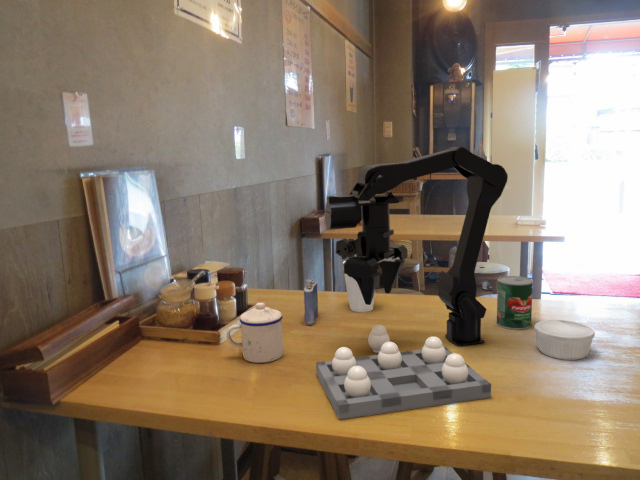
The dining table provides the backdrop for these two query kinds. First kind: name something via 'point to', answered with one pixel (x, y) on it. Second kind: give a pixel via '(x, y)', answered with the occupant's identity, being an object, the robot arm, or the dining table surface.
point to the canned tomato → (514, 302)
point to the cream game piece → (378, 338)
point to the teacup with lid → (260, 334)
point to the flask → (310, 302)
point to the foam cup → (356, 296)
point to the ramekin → (563, 339)
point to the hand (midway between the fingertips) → (378, 298)
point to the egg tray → (398, 380)
